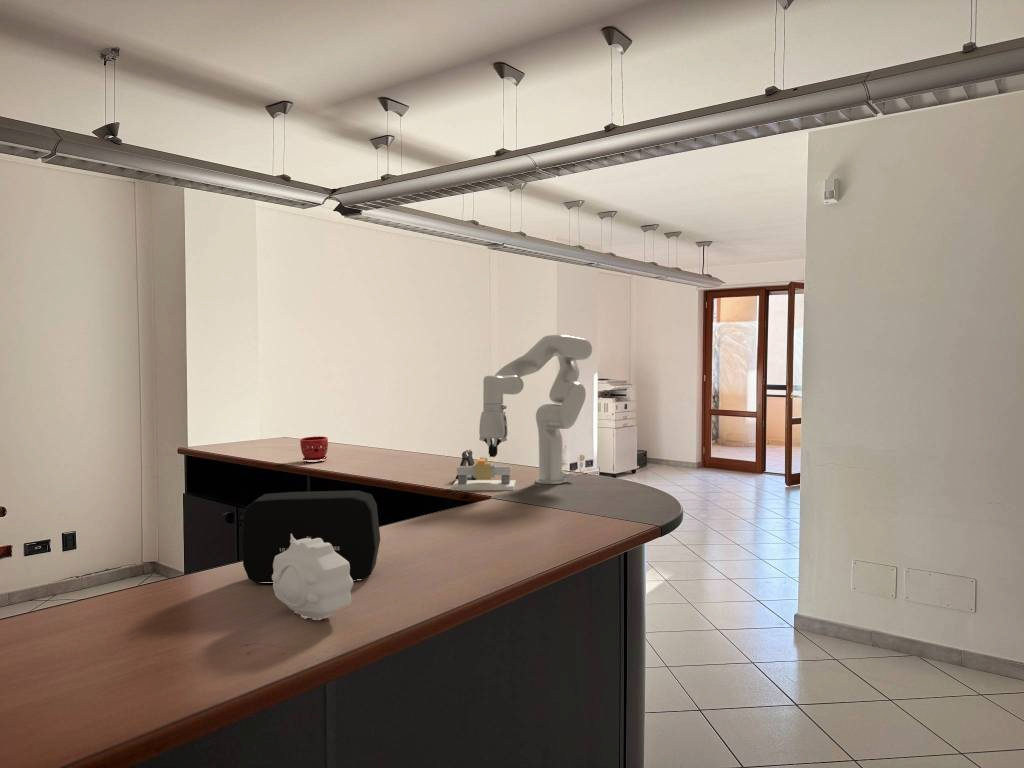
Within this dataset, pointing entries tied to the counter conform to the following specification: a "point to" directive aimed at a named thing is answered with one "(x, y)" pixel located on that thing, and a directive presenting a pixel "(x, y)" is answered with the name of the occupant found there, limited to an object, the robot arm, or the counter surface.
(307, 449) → the plant pot
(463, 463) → the dark grey tall piece
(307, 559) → the white lumpy lump
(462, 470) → the valve pipe
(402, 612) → the counter surface
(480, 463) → the valve lever
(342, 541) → the black hard case
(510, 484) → the board
